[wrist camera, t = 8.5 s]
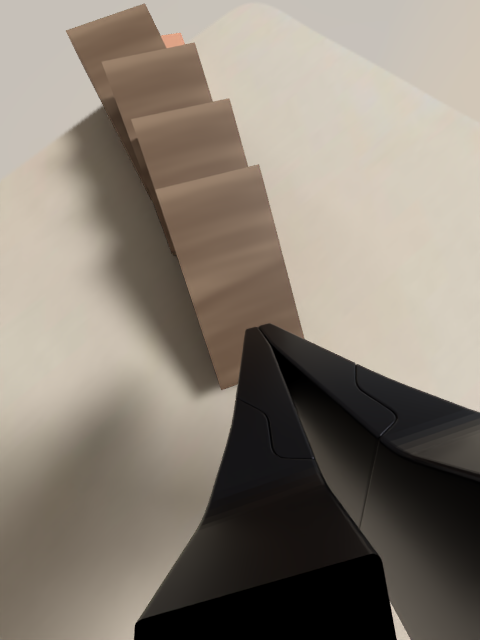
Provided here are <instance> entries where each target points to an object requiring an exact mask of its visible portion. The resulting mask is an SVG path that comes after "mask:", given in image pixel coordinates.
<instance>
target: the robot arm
mask: <svg viewBox="0 0 480 640" xmlns="http://www.w3.org/2000/svg"><path fill="white" fill-rule="evenodd" d="M390 602H391V604H392V606H393V607H394V609H395V611H396V613H397V615H398V617H399V619H400V620H401V622H402V624H403V626H404V628H405V630H406V632H407V633H408V635H409V637H410V639H411V640H480V412H477V411H474V410H471V409H468V408H465V407H463V406H460V405H457V404H455V403H452V402H449V401H447V400H444V399H441V398H439V397H436V396H433V395H431V394H428V393H425V392H423V391H420V390H417V389H415V388H412V387H410V386H407V385H405V384H402V383H400V382H397V381H395V380H392V379H389V378H387V377H385V376H383V375H380V374H378V373H376V372H374V371H371V370H369V369H367V368H365V367H363V366H361V365H358V364H357V365H356V364H355V363H354V362H352V361H350V360H348V359H345V358H343V357H341V356H339V355H337V354H335V353H333V352H331V351H328V350H326V349H324V348H322V347H320V346H318V345H316V344H314V343H311V342H309V341H307V340H305V339H303V338H301V337H299V336H297V335H294V334H292V333H290V332H288V331H286V330H284V329H282V328H280V327H277V326H275V325H273V324H271V323H268V324H264V325H260V326H259V327H252V328H248V329H246V330H245V336H244V343H243V350H242V357H241V365H240V372H239V379H238V386H237V394H236V401H235V407H234V413H233V419H232V424H231V429H230V433H229V436H228V440H227V444H226V447H225V451H224V454H223V457H222V461H221V464H220V467H219V471H218V474H217V477H216V480H215V484H214V487H213V490H212V494H211V497H210V500H209V503H208V506H207V508H206V511H205V513H204V516H203V518H202V520H201V523H200V524H199V526H198V528H197V530H196V532H195V533H194V535H193V536H192V538H191V539H190V541H189V543H188V544H187V546H186V547H185V549H184V550H183V552H182V553H181V555H180V556H179V558H178V559H177V561H176V563H175V564H174V566H173V567H172V569H171V570H170V572H169V573H168V575H167V576H166V578H165V580H164V581H163V583H162V584H161V586H160V587H159V589H158V590H157V592H156V593H155V595H154V596H153V598H152V600H151V601H150V603H149V604H148V606H147V607H146V609H145V610H144V612H143V613H142V615H141V617H140V618H139V620H138V621H137V623H136V624H135V635H134V640H397V639H396V634H395V628H394V623H393V617H392V612H391V606H390Z"/></svg>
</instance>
